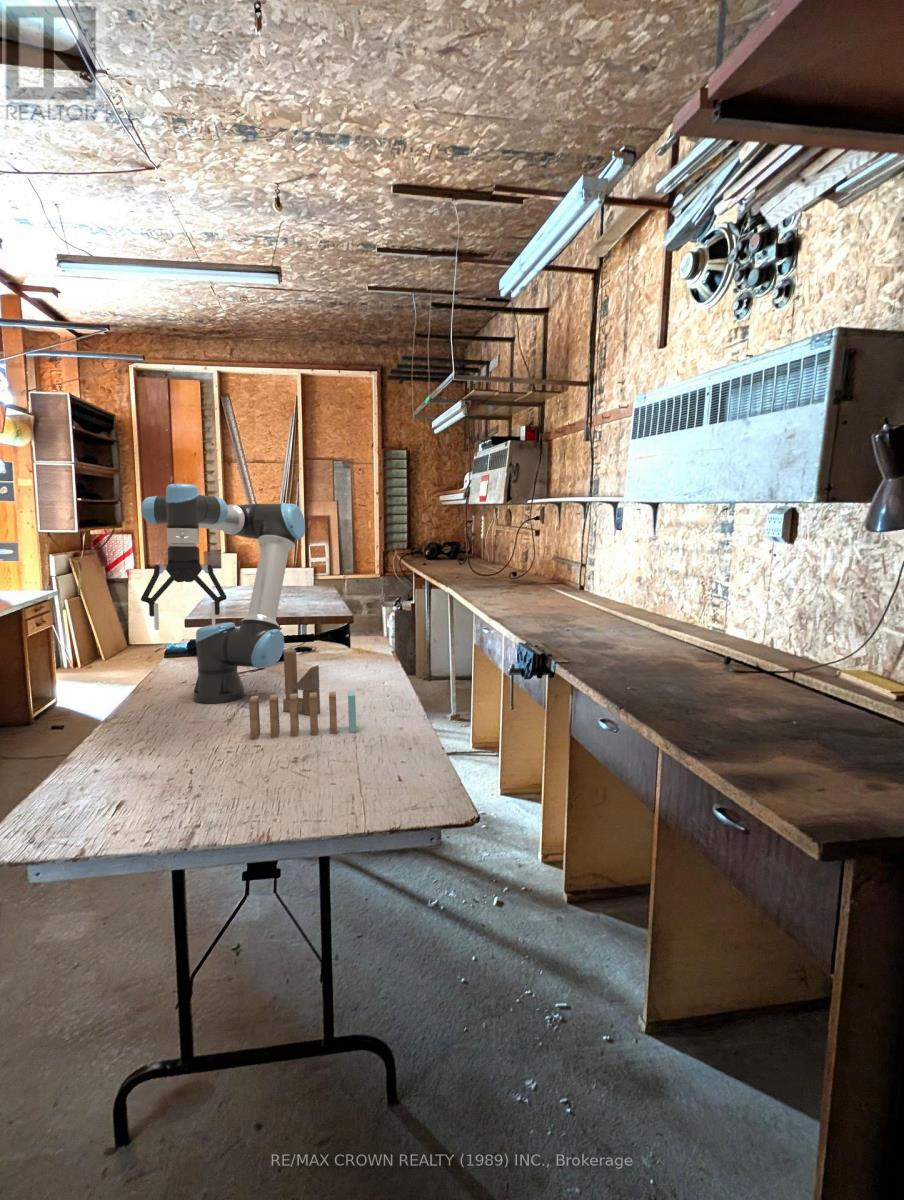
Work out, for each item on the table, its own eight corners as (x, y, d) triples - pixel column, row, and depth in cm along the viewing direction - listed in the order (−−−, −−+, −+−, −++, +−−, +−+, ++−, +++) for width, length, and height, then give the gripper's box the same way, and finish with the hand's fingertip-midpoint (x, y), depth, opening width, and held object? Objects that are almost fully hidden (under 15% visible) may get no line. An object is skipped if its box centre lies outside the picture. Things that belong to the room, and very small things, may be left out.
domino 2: (272, 731, 173) (270, 695, 172) (279, 731, 173) (278, 694, 172) (271, 738, 168) (269, 700, 167) (278, 737, 169) (276, 700, 167)
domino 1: (253, 732, 172) (251, 696, 171) (260, 732, 173) (258, 695, 171) (250, 739, 167) (248, 701, 166) (258, 738, 168) (256, 701, 166)
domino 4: (311, 729, 175) (309, 692, 173) (318, 728, 175) (316, 692, 174) (310, 735, 170) (309, 698, 169) (317, 734, 170) (316, 697, 169)
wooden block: (313, 716, 186) (310, 654, 183) (282, 711, 190) (280, 651, 188) (320, 712, 189) (318, 651, 187) (290, 708, 194) (288, 648, 191)
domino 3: (292, 730, 174) (290, 693, 173) (299, 729, 174) (297, 693, 173) (290, 736, 169) (289, 699, 168) (298, 736, 169) (296, 698, 168)
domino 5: (330, 727, 176) (329, 691, 174) (336, 727, 176) (335, 691, 175) (330, 734, 171) (328, 697, 169) (337, 733, 171) (335, 696, 170)
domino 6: (348, 726, 177) (347, 690, 175) (355, 726, 177) (354, 690, 176) (349, 732, 172) (348, 695, 170) (356, 732, 172) (355, 695, 171)
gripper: (127, 545, 159) (130, 631, 160) (235, 545, 167) (236, 628, 168) (131, 545, 166) (134, 628, 167) (234, 546, 174) (236, 625, 175)
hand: (185, 628), depth 168 cm, fingers open, 13 cm apart
